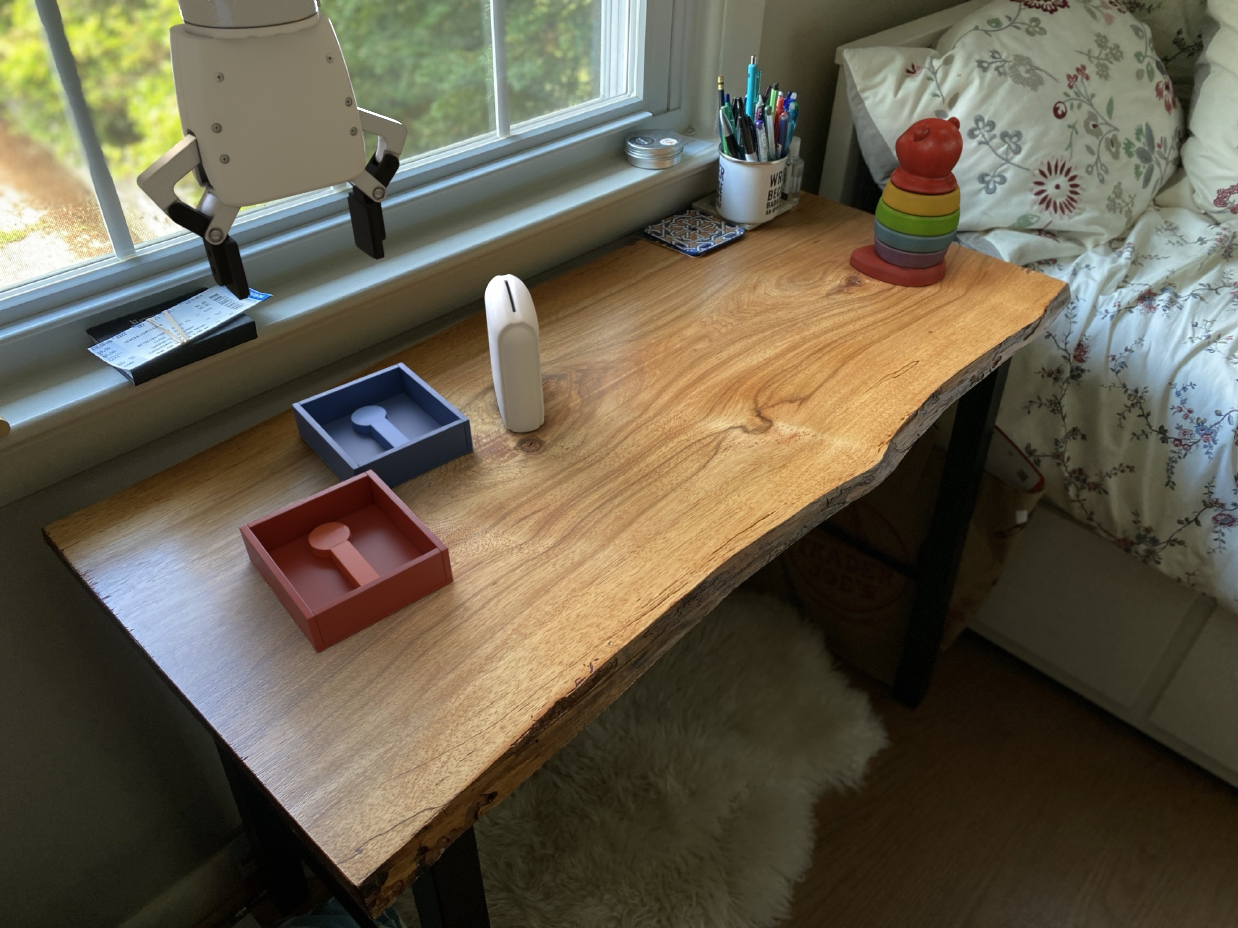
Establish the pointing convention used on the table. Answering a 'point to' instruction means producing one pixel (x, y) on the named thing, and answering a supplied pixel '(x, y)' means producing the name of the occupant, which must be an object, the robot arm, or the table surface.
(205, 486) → the table surface
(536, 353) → the photo printer
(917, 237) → the stacking bear
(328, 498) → the red bin
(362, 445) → the blue bin
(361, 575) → the red spoon
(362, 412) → the blue spoon
